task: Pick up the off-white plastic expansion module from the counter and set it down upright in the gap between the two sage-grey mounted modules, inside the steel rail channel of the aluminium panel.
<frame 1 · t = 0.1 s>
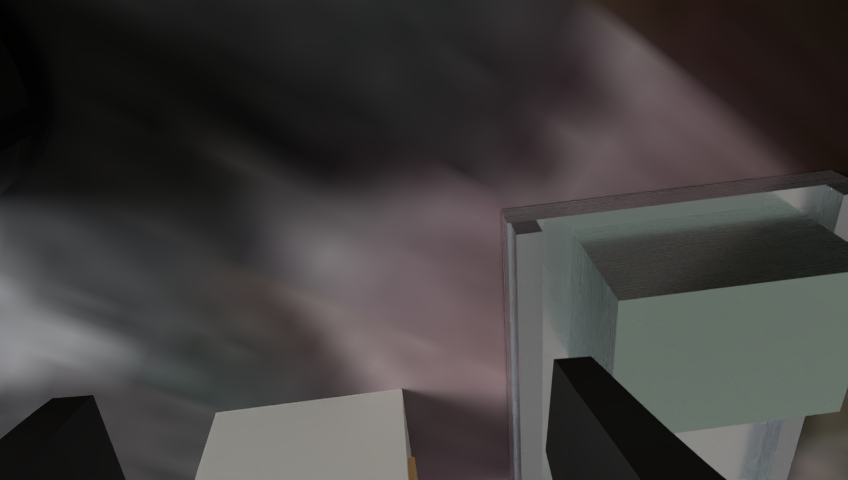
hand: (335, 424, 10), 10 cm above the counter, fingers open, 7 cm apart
expansion module: (318, 437, 23), on the counter
din panel: (640, 433, 24), on the counter
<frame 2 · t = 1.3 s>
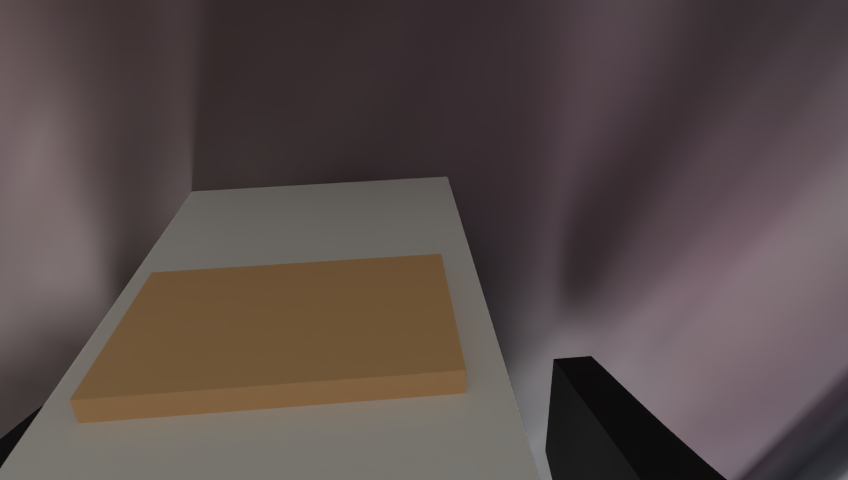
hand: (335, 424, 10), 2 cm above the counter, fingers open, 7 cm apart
expansion module: (342, 357, 11), on the counter
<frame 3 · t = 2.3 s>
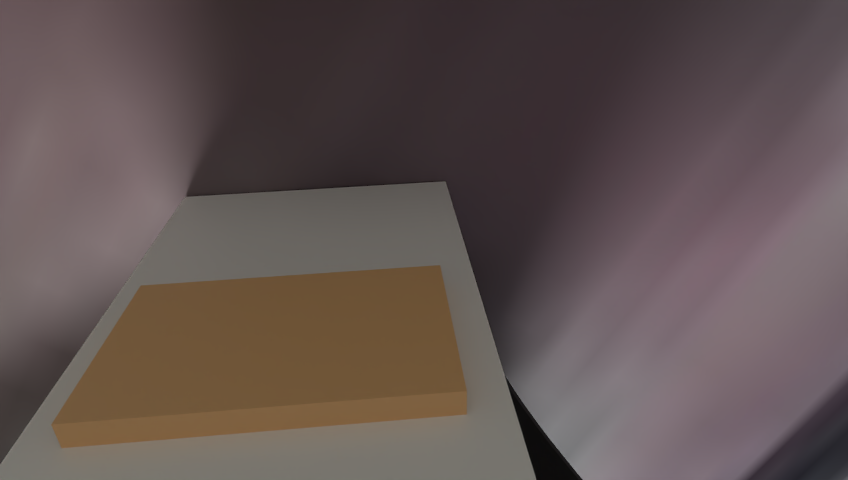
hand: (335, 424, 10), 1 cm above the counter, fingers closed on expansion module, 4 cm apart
expansion module: (339, 366, 11), on the counter, touching gripper
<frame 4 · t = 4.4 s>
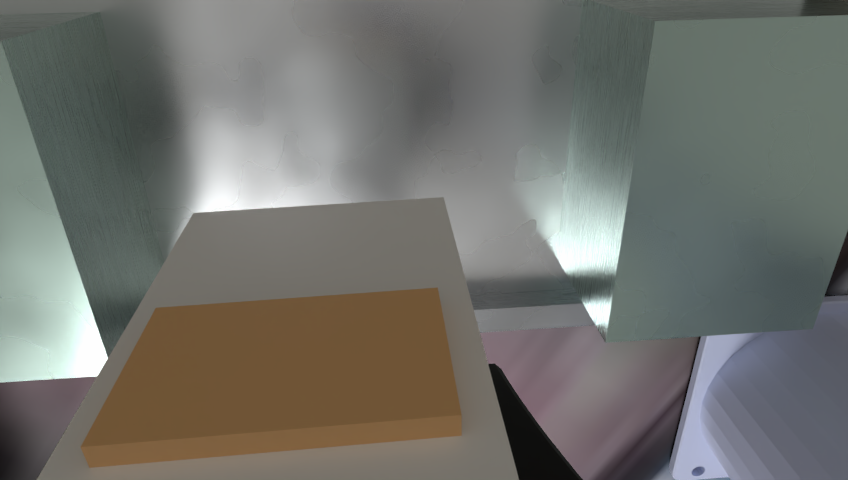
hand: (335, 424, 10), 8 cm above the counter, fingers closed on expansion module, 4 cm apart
expansion module: (341, 371, 11), point 7 cm above the counter, touching gripper
din panel: (358, 138, 16), on the counter
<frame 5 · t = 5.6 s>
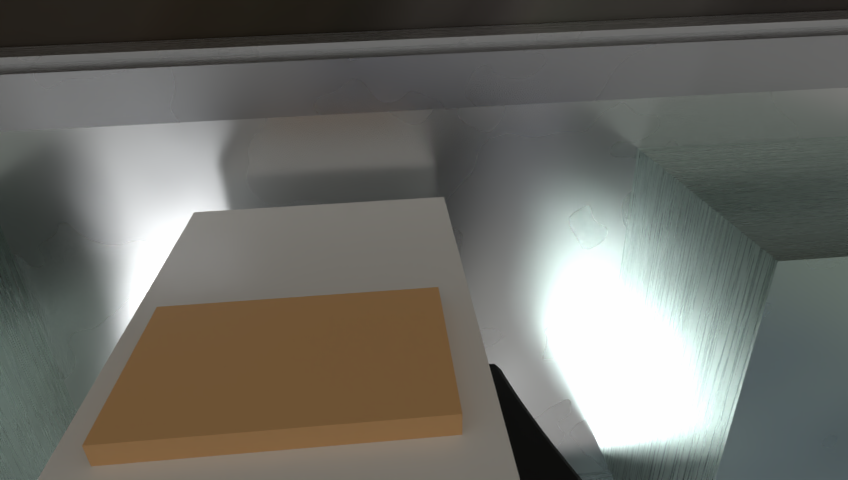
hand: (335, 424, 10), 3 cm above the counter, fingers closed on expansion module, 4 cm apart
expansion module: (341, 371, 11), point 2 cm above the counter, touching gripper
din panel: (343, 305, 13), on the counter
when the fingers open (3 cm above the counter, at t = 6.3 s): expansion module stays where it is, resting on din panel.
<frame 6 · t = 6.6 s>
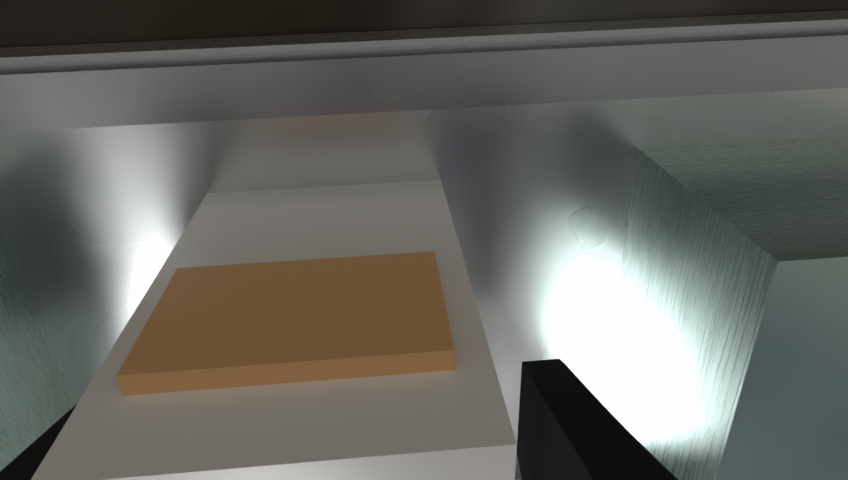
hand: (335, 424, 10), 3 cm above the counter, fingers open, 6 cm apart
expansion module: (344, 348, 12), point 1 cm above the counter, touching din panel
din panel: (343, 305, 13), on the counter
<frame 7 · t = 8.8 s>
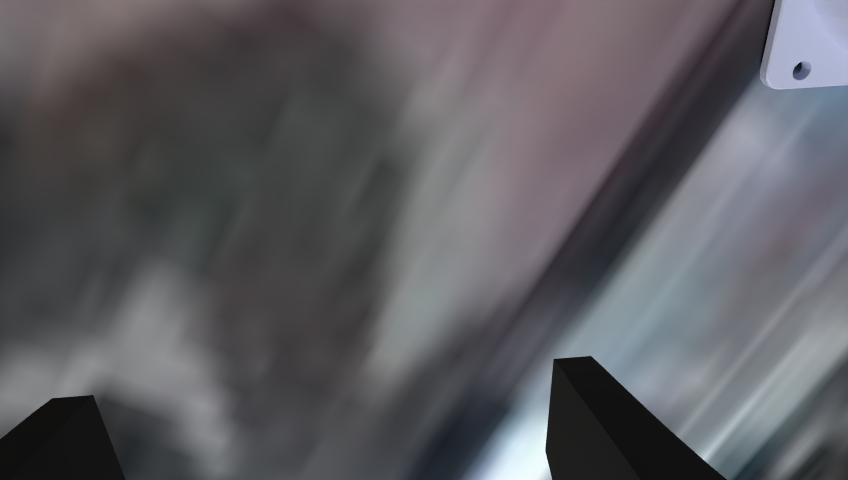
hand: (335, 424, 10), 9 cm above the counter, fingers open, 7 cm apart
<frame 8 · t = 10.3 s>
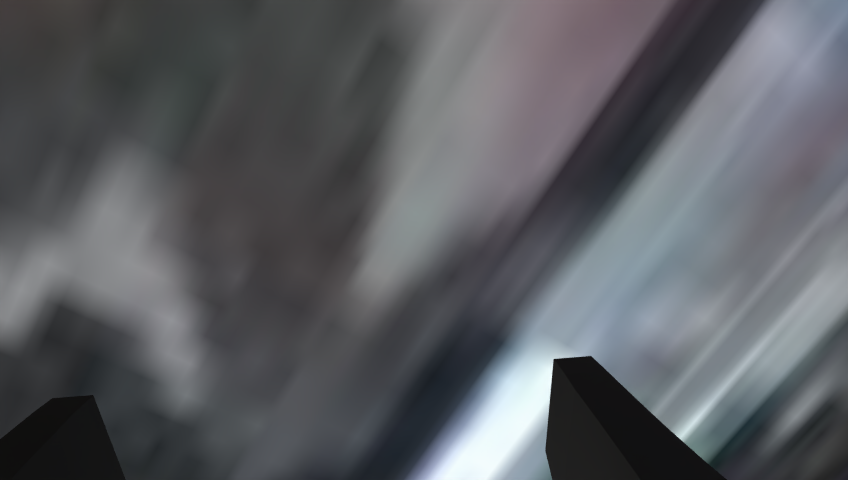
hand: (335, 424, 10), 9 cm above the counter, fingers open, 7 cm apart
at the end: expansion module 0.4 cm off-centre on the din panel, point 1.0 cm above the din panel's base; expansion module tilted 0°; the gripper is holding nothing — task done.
